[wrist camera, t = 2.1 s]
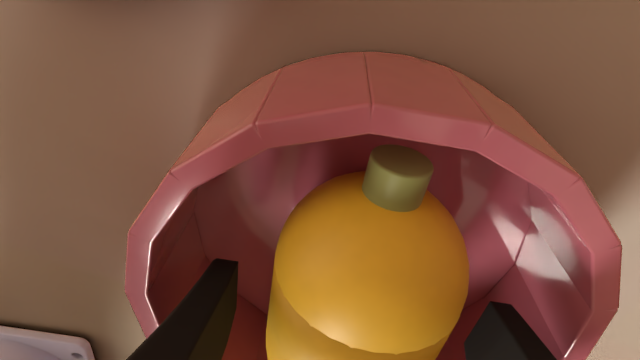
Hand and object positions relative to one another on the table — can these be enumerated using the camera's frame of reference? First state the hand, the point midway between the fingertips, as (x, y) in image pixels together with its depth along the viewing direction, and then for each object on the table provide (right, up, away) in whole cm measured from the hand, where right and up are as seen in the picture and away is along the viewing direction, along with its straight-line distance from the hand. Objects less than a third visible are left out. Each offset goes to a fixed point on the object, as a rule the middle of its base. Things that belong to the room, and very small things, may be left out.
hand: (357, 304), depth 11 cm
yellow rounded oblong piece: (0, +1, +2) cm, 3 cm away
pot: (0, +2, +2) cm, 3 cm away
